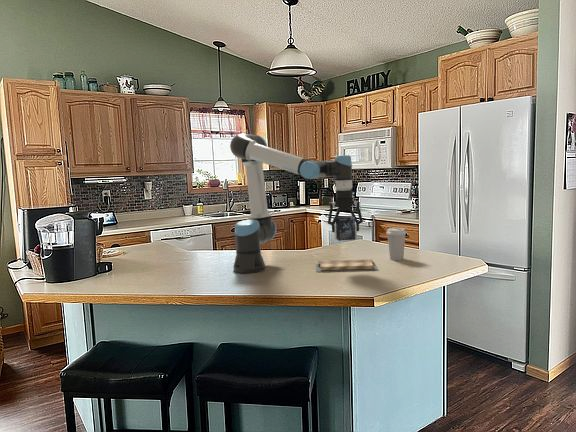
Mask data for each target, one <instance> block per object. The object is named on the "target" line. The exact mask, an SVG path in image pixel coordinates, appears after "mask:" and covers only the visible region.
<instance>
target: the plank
mask: <svg viewBox="0 0 576 432" xmlns="http://www.w3.org/2000/svg"><path fill="white" fill-rule="evenodd" d="M320 266H321V270H347V269H374V265H373V264H372V262H365V263H332V264H320Z"/></svg>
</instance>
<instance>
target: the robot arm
mask: <svg viewBox="0 0 576 432" xmlns="http://www.w3.org/2000/svg"><path fill="white" fill-rule="evenodd" d="M229 147H230V151H231V153H232V155H233V156H235V157H236V158H239V159H241V160H240V161H241V165H243V166H244V167H245V174H246V175H245V176H246V182H247V190H248V191H247V192H248V200H249V207H250V208H249V210H250V211H249V212H250V214H249V216H248V219H245V220H244V219H243V220H241V221H237V222H236V223H235V225H234V236H235V238H234V239H235V251H236V252H235V255H236V256H235V259H234V263H233V266H232V267H233V272H234V273H239V274H253V273H254V274H255V273H260V272H263V271H264V270H265V269H266V263H265V261H264V258H263V256H262V252H261V251H262V249H261V245H262V244H264V243H267V242H270V241H271V240H272V239H274V237H276V235H277V229H278V228H277V224H276V223H275V221H274V220H273V219H272V214H271V213H270V212H269V211H268V202H267V192H266V184H265V176H264V175H265V174H264V168H263V165H264V164H265V165H269V166H272V167H275V168H276V169H277V168H278V169H281V170H284V171H287V172H290V173H293V174H295V175H299V176H302V177H303V178H304V179H307V180H315V179H319V178H335V179H334V180H335V189H336V190H335V201H331V202H329V213H328V219H327V224H328V225H331V232H332V233H334V241H335V240H337V236H336V220H337V217H339V215H340V213H341V211H348V212H349V213H350V214H351V216H353V217H355V240H357V239H358V233H357V232H359V231H360V224H362V223H363V222H364V221H363V217H362V212H361V207H360V206H361V202H360V201H359V200H357V201H355V200H354V198H353V197H354V195H353V190H352V189H353V164H352V162H353V161H352V156H351V155H349V154H346V155H344V154H343V155H335V156H334V159H333V160H311V159H308V158H304V157H301V156H298V155H294V154H292V153H289V152H285V151H282V150H280V149H279V150H278V149H276V148H272V147H269V146H268V143H267V142H266V140H265V139H264V137H262V136H261V135H257V134H253V133H252V134H250V133H239V134H236V135H234V137H233V138H232V139H231V141H230V144H229ZM353 205H354V206H355V207H356V212H357V215H358V218H357V217H356V214H355V213H354V211H353V209H352V206H353ZM335 206H336V207H337V210H336V212H335V214H334V216H333V211H334V208H335ZM332 216H333V219H332ZM337 241H338V240H337Z"/></svg>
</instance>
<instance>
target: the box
mask: <svg viewBox="0 0 576 432" xmlns="http://www.w3.org/2000/svg"><path fill="white" fill-rule="evenodd" d="M355 224H356V222H355V217H353V216H352V215H345V216H342V215H341V216H338V217H337V220H336V222H335V225H336V236H337V241H338V242H340V241H355V240H356V239H355Z"/></svg>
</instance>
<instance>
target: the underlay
mask: <svg viewBox="0 0 576 432" xmlns="http://www.w3.org/2000/svg"><path fill="white" fill-rule="evenodd" d="M315 266H316V267H315V268H316V269H315V272H316V273H328V272H329V273H331V272H332V273H333V272H334V273H335V272H337V273H338V272H364V271H365V272H369V271H379V268H378V266H377V264H376V262H374V269H347V270H321V267H318V263H316V265H315Z"/></svg>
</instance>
